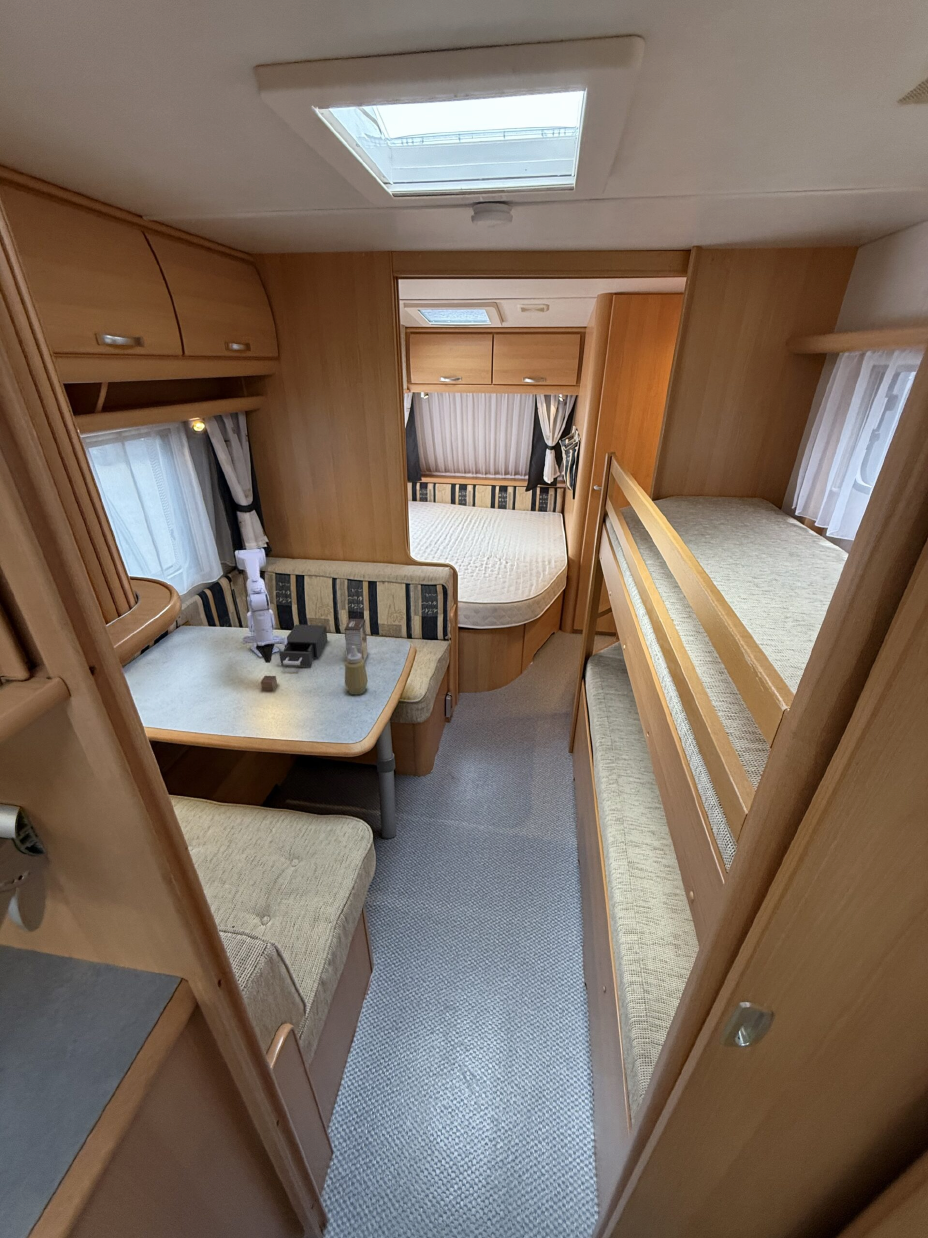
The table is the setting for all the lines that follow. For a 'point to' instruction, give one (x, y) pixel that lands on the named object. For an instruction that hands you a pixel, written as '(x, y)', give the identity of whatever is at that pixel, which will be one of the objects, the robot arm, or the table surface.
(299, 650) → the drawer
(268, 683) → the block
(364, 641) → the coffee box
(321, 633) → the dark grey drawer box
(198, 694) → the table surface
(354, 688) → the squeeze bottle
